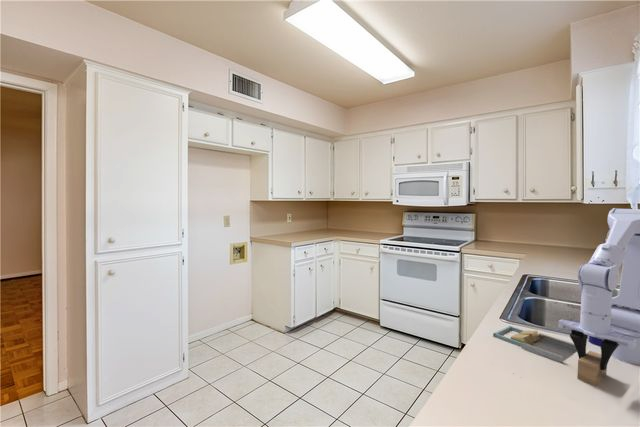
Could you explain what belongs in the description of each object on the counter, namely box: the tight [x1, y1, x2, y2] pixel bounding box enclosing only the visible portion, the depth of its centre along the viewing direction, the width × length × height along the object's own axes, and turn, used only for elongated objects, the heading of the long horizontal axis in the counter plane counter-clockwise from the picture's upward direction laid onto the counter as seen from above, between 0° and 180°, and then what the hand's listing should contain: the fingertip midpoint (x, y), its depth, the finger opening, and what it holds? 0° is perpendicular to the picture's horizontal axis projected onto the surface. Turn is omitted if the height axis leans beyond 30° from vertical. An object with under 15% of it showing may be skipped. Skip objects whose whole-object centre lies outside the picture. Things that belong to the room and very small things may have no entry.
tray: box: [492, 325, 525, 347], centre depth 101 cm, size 11×8×2 cm
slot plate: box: [520, 332, 577, 364], centre depth 93 cm, size 13×10×3 cm
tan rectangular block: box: [576, 350, 608, 387], centre depth 78 cm, size 8×4×6 cm, turn 124°
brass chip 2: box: [518, 330, 540, 342], centre depth 100 cm, size 4×4×2 cm
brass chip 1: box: [510, 333, 532, 345], centre depth 97 cm, size 4×4×2 cm
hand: (592, 364), depth 78 cm, fingers closed on tan rectangular block, 3 cm apart
